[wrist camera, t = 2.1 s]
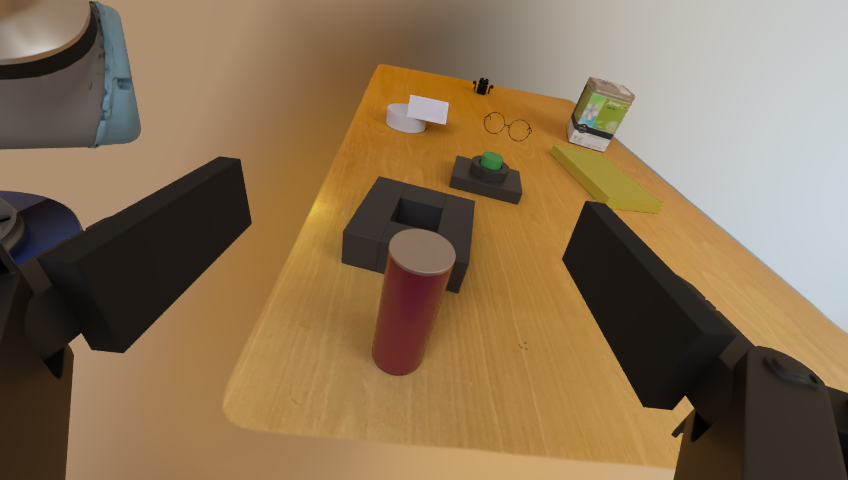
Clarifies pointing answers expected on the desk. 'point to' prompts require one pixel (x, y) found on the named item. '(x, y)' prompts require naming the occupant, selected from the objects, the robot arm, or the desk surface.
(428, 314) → the dark red cylinder
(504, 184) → the panel
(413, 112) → the wedge on round base
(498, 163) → the button
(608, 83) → the tea box
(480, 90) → the wireless earbuds
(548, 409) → the desk surface
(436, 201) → the square peg hole block
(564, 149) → the flat olive board
